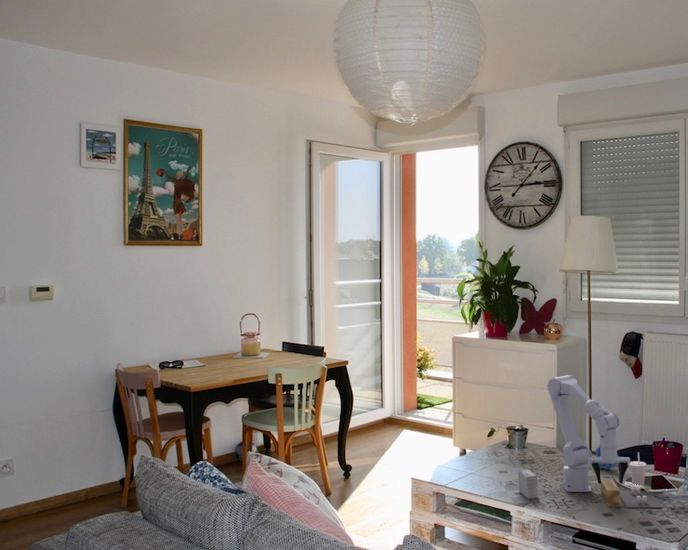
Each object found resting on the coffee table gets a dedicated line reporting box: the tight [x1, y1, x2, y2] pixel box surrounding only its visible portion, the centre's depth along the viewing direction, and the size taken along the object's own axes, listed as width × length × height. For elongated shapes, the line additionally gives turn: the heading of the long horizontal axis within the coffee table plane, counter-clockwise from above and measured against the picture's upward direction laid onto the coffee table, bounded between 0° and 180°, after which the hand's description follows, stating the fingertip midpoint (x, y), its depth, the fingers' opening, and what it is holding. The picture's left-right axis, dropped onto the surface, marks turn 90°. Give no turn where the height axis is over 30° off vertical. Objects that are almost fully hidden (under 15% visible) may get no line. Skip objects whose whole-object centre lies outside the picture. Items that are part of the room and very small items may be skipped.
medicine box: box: [518, 469, 539, 500], centre depth 282 cm, size 8×4×9 cm, turn 9°
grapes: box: [595, 444, 620, 471], centre depth 307 cm, size 12×7×12 cm, turn 31°
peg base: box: [620, 487, 663, 509], centre depth 270 cm, size 12×16×3 cm
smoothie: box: [628, 451, 647, 486], centre depth 283 cm, size 6×6×14 cm
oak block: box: [600, 479, 621, 507], centre depth 272 cm, size 4×12×6 cm, turn 172°
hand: (610, 482), depth 272 cm, fingers open, 7 cm apart
